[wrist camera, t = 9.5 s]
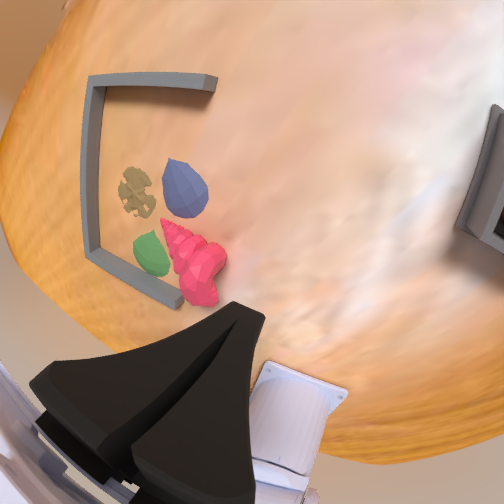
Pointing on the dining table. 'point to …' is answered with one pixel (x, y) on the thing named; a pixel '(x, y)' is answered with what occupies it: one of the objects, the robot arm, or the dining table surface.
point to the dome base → (487, 188)
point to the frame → (90, 174)
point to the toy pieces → (176, 231)
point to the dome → (502, 215)
